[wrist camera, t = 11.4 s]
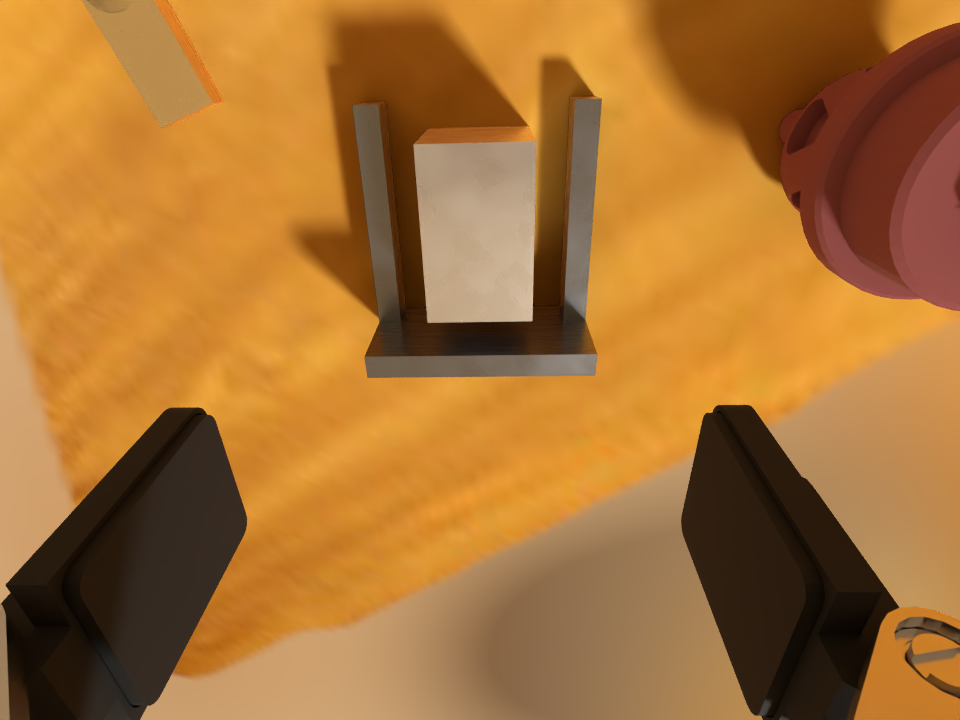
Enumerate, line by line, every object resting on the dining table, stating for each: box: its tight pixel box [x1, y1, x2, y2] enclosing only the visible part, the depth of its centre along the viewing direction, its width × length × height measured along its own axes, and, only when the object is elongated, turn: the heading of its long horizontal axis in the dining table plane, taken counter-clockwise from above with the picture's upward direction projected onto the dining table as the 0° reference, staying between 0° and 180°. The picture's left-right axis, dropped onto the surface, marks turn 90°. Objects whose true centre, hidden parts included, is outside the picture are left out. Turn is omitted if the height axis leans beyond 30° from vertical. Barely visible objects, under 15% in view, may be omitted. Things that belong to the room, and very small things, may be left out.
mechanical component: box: [779, 23, 960, 311], centre depth 22 cm, size 12×10×10 cm
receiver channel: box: [352, 96, 602, 378], centre depth 27 cm, size 12×11×6 cm
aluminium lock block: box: [413, 126, 536, 323], centre depth 27 cm, size 9×5×6 cm, turn 2°
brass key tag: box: [82, 0, 224, 128], centre depth 25 cm, size 7×3×1 cm, turn 22°
